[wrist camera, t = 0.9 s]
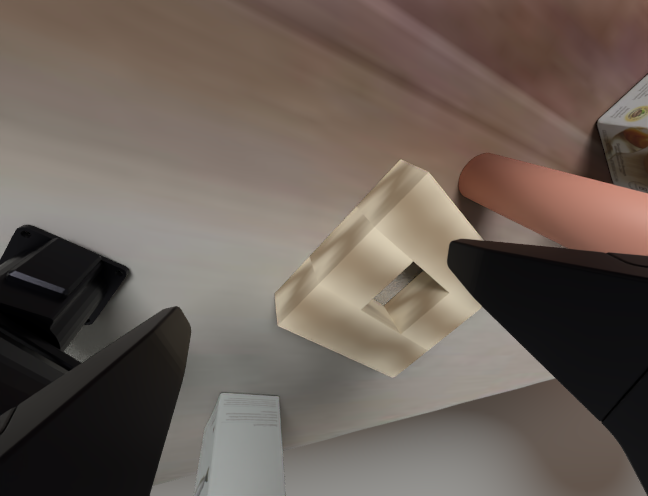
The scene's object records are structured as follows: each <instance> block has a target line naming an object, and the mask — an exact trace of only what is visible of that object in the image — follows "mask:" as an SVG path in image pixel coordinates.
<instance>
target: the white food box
mask: <svg viewBox="0 0 648 496" xmlns="http://www.w3.org/2000/svg"><path fill="white" fill-rule="evenodd" d="M597 126H598V130H599V133H600V137H601V141H602V144H603V148H604V152H605V155H606V159H607V162H608V166H609V170H610V174H611V177H612V181H613V183H614V185H617V186H621V187H625V188H628V189H632V190H636V191H640V192H644V193H648V75H646V76H645V77H644V78H643V79H642V80H641V81H640V82H639V83H638V84H637V85H636V86H634V87H633V88H632V89H631V90H630V91H629V92H628V93H627V94H626V95H625V96H623V97H622V98H621V99H620V100H619V101H618V102H617V103H616V104H615V105H614V106H613V107H612V108H610V109H609V110H608V111H607V112H606V113H605V114H604V115H603V116H602V117H600V118H599V120H598V122H597Z"/></svg>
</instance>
